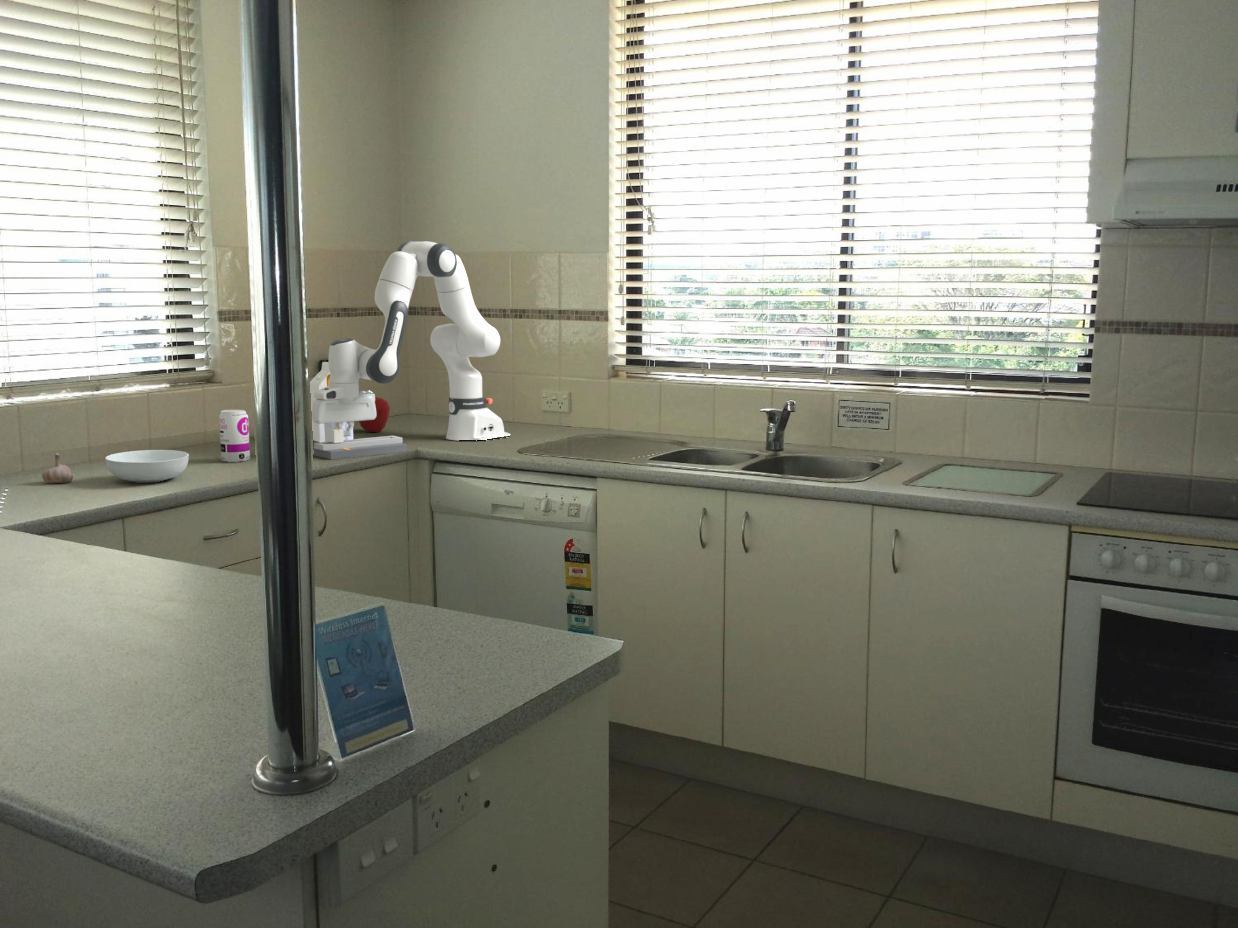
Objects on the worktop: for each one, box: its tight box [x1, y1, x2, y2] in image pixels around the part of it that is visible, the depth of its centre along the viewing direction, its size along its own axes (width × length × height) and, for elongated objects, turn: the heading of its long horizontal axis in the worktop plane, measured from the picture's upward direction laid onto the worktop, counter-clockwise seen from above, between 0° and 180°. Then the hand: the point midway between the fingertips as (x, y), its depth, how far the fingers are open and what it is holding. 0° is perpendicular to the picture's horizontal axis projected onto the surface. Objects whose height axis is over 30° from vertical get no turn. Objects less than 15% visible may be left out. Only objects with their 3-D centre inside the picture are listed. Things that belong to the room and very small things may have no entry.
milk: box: [309, 361, 330, 443], centre depth 384 cm, size 12×12×26 cm
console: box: [312, 435, 408, 460], centre depth 355 cm, size 27×14×4 cm, turn 130°
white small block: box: [327, 428, 344, 444], centre depth 349 cm, size 3×5×6 cm, turn 40°
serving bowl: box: [104, 449, 190, 484], centre depth 305 cm, size 21×21×7 cm
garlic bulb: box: [41, 453, 74, 484], centre depth 301 cm, size 8×7×8 cm
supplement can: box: [218, 409, 251, 463], centre depth 338 cm, size 8×8×15 cm
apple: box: [358, 396, 391, 433], centre depth 403 cm, size 12×12×13 cm
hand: (345, 436), depth 351 cm, fingers closed
